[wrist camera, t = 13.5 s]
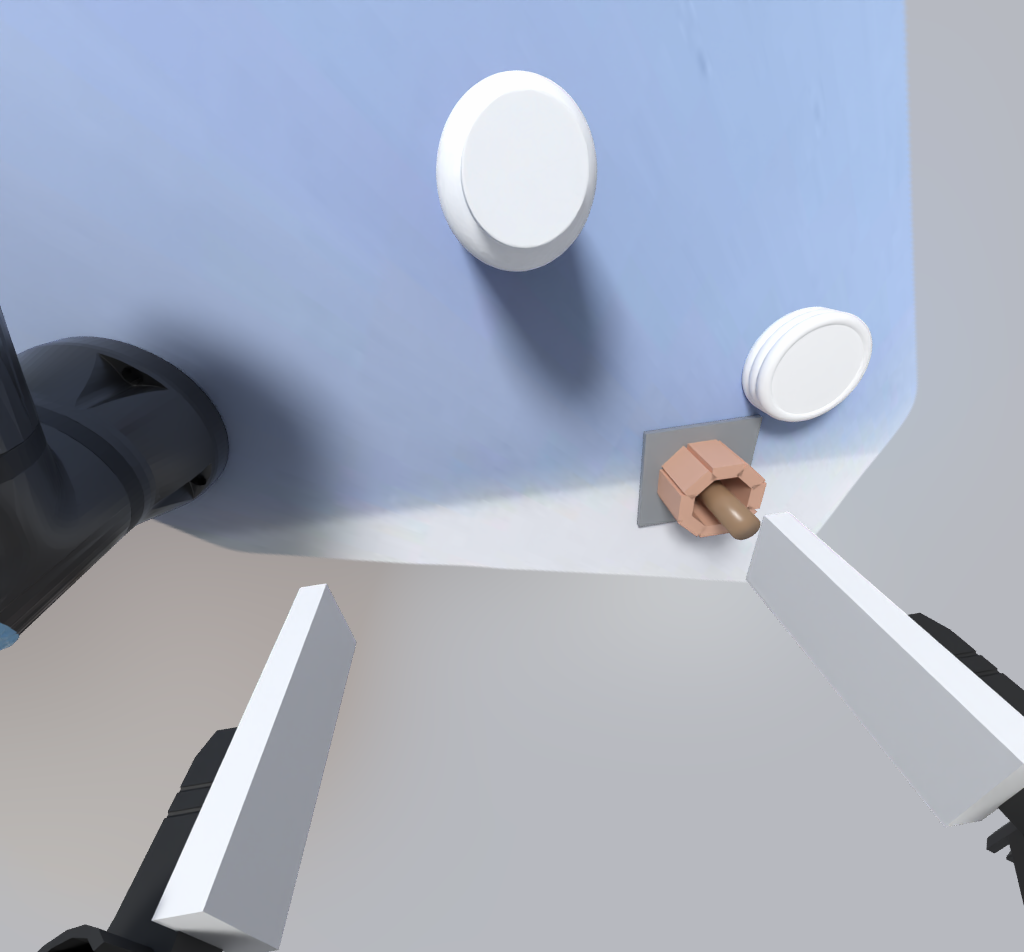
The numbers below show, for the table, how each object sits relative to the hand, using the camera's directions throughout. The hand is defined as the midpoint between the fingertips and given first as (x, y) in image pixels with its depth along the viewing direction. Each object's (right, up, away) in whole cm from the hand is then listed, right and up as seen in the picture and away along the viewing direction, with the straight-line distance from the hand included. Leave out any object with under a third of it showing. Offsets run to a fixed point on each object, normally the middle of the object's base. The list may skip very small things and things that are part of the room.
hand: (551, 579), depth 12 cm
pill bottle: (-2, +24, +17) cm, 29 cm away
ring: (+19, +3, +31) cm, 37 cm away
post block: (+19, +4, +32) cm, 37 cm away
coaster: (+26, +14, +26) cm, 39 cm away
